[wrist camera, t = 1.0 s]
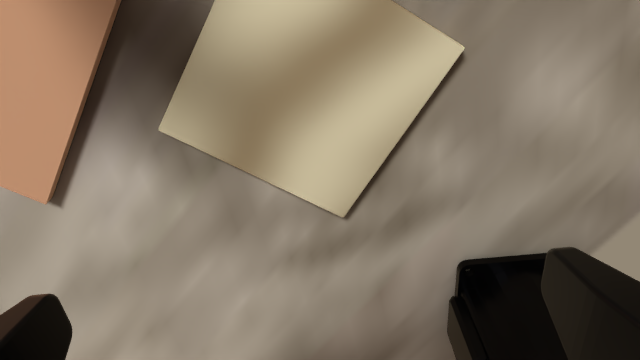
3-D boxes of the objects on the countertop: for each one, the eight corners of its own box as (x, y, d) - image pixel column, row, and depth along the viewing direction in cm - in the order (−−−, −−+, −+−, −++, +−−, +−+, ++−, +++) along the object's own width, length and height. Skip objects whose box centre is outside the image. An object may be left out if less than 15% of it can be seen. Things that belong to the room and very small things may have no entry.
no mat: (460, 44, 18) (464, 47, 18) (342, 210, 22) (343, 218, 21) (255, -88, 16) (253, -88, 15) (161, 124, 20) (157, 129, 19)
